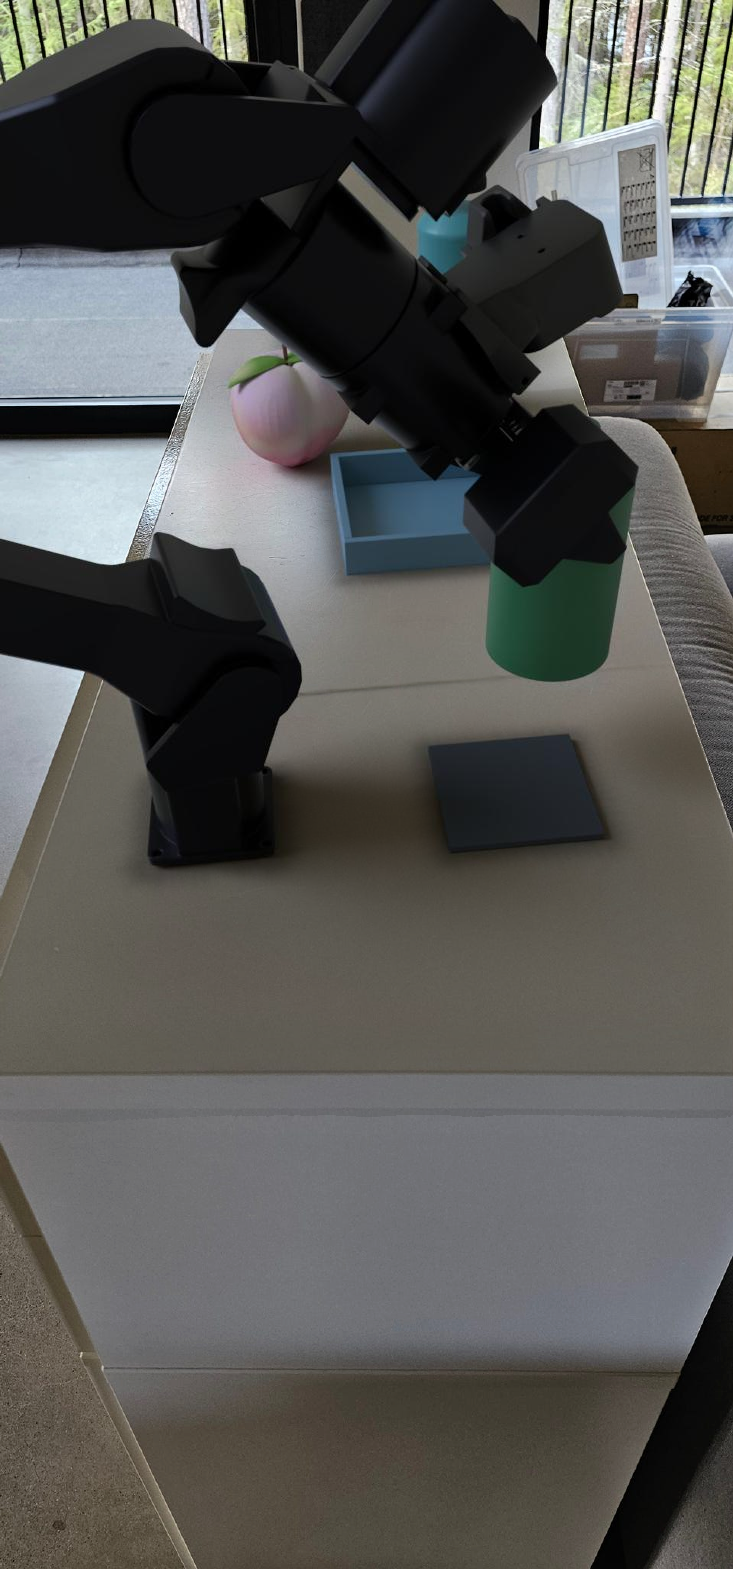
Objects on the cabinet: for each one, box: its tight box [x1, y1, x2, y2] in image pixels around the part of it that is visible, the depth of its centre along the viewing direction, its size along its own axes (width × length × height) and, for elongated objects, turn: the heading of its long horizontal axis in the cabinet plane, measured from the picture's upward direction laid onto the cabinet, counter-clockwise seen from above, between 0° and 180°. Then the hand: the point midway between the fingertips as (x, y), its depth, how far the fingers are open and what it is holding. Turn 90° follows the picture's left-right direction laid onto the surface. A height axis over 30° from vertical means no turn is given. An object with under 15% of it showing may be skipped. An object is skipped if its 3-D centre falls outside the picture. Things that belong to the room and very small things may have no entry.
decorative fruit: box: [227, 343, 351, 468], centre depth 84 cm, size 9×8×10 cm
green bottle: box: [484, 415, 637, 683], centre depth 53 cm, size 6×6×12 cm
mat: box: [427, 733, 606, 853], centre depth 59 cm, size 8×8×1 cm
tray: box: [329, 447, 491, 576], centre depth 79 cm, size 13×12×3 cm
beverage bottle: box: [416, 173, 488, 275], centre depth 86 cm, size 6×7×20 cm
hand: (586, 521), depth 53 cm, fingers closed on green bottle, 6 cm apart
